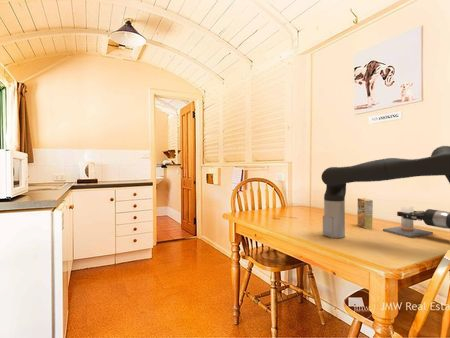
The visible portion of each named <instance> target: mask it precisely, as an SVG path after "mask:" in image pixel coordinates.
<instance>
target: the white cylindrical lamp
mask: <svg viewBox="0 0 450 338" xmlns="http://www.w3.org/2000/svg"><path fill="white" fill-rule="evenodd" d="M400 207H401V208H400V209H401V211H400V212H406V213H410V212H413V211H414V206H412V205H401V206H400ZM407 217H408V215H407ZM400 218H401V219H400V222H401V225H400V226H401V230H402V231H406V232H413V231H414V228H415V227H414V220H410V219H404V218H403V217H401V216H400Z"/></svg>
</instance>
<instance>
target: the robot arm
mask: <svg viewBox="0 0 450 338" xmlns="http://www.w3.org/2000/svg"><path fill="white" fill-rule="evenodd" d="M431 176H432V177H434V176H445V178H446V180H447V181H448V183H449V184H450V145H441V146H439V147H436V148H435V149H434V150H433V151H432V153H431V155H430V156H427V157H422V158H413V159H412V158H409V159H408V158H407V159H406V158H398V157H388V158H381V159H374V160H371V161H370V160H369V161H367V162H366V161H365V162H362V163H359V164H355V165H350V166H339V167H338V166H330V167H327V168H326V169H324V170H323V172H322V173H321V181H322V182H323V183H324V184H325V185H326V188H325V192H324V195H323V205H324V206H323V215H322V235H323V236H325V237H327V238H330V239H333V238H334V239H340V238H341V239H342V238H345V237H346V235H345V234H346V220H345V219H346V211H345V210H346V207H345V206H346V204H345V203H346V200H345V199H346V195H347V194H346V193H347V184H350V183H358V182H359V183H365V182H366V183H368V182H369V183H371V182H382V181H384V182H385V181H392V180H397V179H405V178H406V179H407V178H409V179H410V178H416V177H431ZM396 215H397V217H400V218H401V217H403V218H404V219H410V220H413V221H418V222H419V221H423V223H424V224H425V225H427V226H430V227H436V228H441V229H448V230H450V212H449V211H447V210H446V211H445V210H440V209H430V208H428V209H425V211H424V210H413V212H410V213H406V212H401V211H397V212H396ZM407 215H408V217H407Z"/></svg>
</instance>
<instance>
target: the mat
mask: <svg viewBox="0 0 450 338" xmlns="http://www.w3.org/2000/svg"><path fill="white" fill-rule="evenodd" d="M382 231H383V232H386V233H388V234H389V233H390V234H393V235H398V236H401V237H406V238H410V239H411V238H416V237H424V236H431V235H434V232H433V231H429V230H425V229H420V228H416V227H414V231H413V232H406V231H402V230H401V225H400V226H394V227H388V228H383V229H382Z"/></svg>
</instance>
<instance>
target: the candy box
mask: <svg viewBox="0 0 450 338" xmlns="http://www.w3.org/2000/svg"><path fill="white" fill-rule="evenodd" d="M373 203H374V202H373V200H372V199H369V198H364V197H357V226H359V227H361V228H363V229H365V230H367V229H371V230H372V229H373V212H374V211H373Z"/></svg>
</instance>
